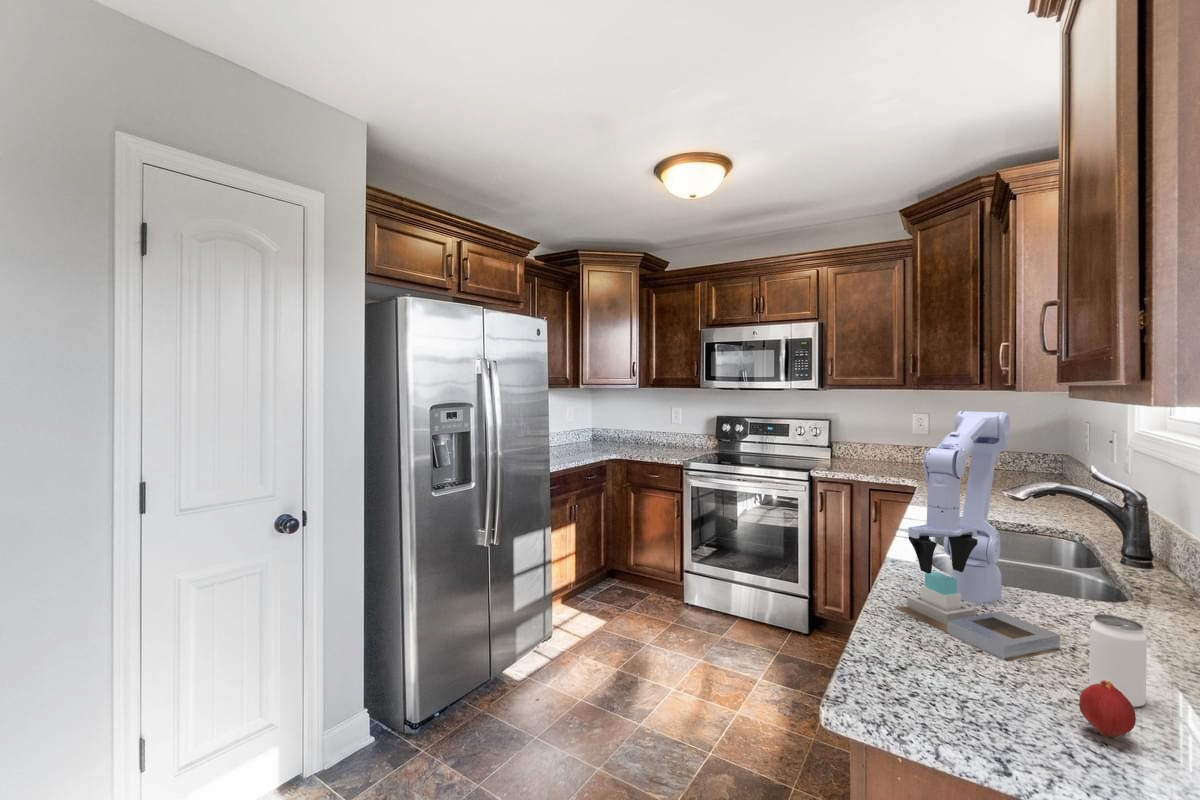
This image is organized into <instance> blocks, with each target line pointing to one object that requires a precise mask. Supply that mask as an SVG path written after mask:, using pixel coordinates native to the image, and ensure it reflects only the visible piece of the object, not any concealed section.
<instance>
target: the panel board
mask: <svg viewBox="0 0 1200 800" xmlns="http://www.w3.org/2000/svg"><path fill="white" fill-rule="evenodd" d="M895 609H896V610H898V611H900V612H902V613H904V614H906V615H908V616H910V617H913V618H914V619H917V620H919V621H920V622H923V623H925V624H928V625H930V626H931V627H934V628H935V629H938V630H940V631H942V632H944V633H946V634H948V633H947V625H945V624H943V623H941V622H939V621H937V620H934V619H932V618H930V617H928V616H926V615H924V614H921V613H919V612H917V611H915V610H913V609H911V608H908V607H907V605H906V606H901V607H895ZM977 615H979V614H977V613H976V616H977ZM992 631H995V630H992ZM995 632H997V631H995ZM997 633H999V634H1002V633H1000V632H997ZM949 635H950V636H952V637H955V636H953V635H951V634H949ZM1002 635H1004V634H1002ZM1004 636H1006V637H1008V638H1011V637H1009V636H1007V635H1004ZM955 638H957V637H955ZM957 639H959V638H957ZM1011 639H1014V638H1011ZM959 640H960V639H959ZM970 645H971V646H973V647H975V648H978V647H976V646H974V645H972V644H970ZM978 649H980V648H978ZM980 650H981V649H980ZM1061 651H1063V649H1061V648H1060V649H1056V650H1051V651H1046V652H1041V653H1036V654H1031V655H1026V656H1021V657H1017V658H1012V659H1007V660H1003V659H1001V658H999V657H997V656H995V655H993V654H991V655H993V656H994V657H997V658H998V659H1000V660H1002V661H1005V662H1012V661H1017V660H1022V659H1026V658H1031V657H1037V656H1041V655H1046V654H1051V653H1057V652H1061ZM1060 655H1063V653H1062V654H1060ZM1056 656H1058V654H1056V655H1055V657H1056ZM1050 657H1053V655H1051V656H1050ZM1045 658H1048V657H1045ZM1042 659H1044V657H1042V658H1041V660H1042ZM1036 660H1039V658H1038V659H1036ZM1031 661H1034V660H1031ZM1027 662H1029V661H1026V663H1027ZM1022 663H1024V662H1021V664H1022ZM1016 664H1018V665H1019V663H1016ZM1012 665H1015V663H1014V664H1012ZM1009 666H1010V665H1009V664H1008V665H1007V667H1009Z"/></svg>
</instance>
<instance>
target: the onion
mask: <svg viewBox="0 0 1200 800" xmlns="http://www.w3.org/2000/svg"><path fill="white" fill-rule="evenodd" d="M1078 706H1079V711H1080V712H1081V714H1082V716H1083V717H1084V719H1085V720H1086V721H1087V722H1088V723H1089V724H1090V725H1091V726H1092V727H1094V728H1095V729H1096V730H1097V731H1098V732H1099V734H1101V735H1102V736H1104V737H1107V738H1113V737H1118V736H1121V735H1125V734H1127V733H1129V732H1131V731H1132V730H1133V729H1134V728H1135V725H1136V720H1137V718H1136V710H1135V708H1134V707H1133V706H1132V704H1131V703H1130V701H1129V700H1128V699H1127V698H1126V697H1125V696H1124V695H1123V693H1122V692H1120V691H1119V690H1118V689H1116V688H1115V687H1114V686H1113V684H1112V683H1111V682H1110V681H1108V680H1102V681H1101V683H1100V684H1093V685H1090V686H1089V685H1088V686H1087V687H1085V688H1084V689H1083V690H1082V691H1081V693H1080V695H1079V701H1078Z"/></svg>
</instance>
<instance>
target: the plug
mask: <svg viewBox="0 0 1200 800" xmlns="http://www.w3.org/2000/svg"><path fill="white" fill-rule="evenodd" d="M920 595H921V601H923V602H926V603H928V604H930V605H933V606H935V607H937V608H939V609H942V610H944V611H946V612H947V611H954V610H960V609H961V604H962V600H961V594H959V593H957V579H955V578H952V576H950V575H948V574H947V575H946V574H944V573H942V572H939V571H931V573H929V574H928V573H925V572H924V585H921V586H920Z"/></svg>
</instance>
